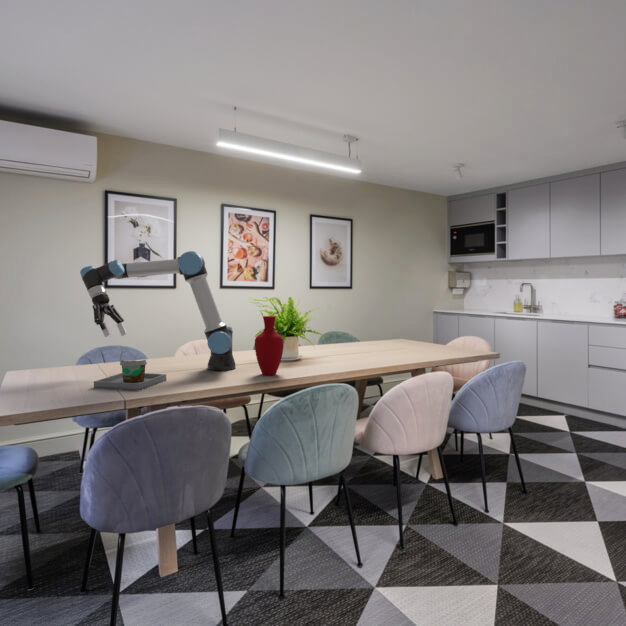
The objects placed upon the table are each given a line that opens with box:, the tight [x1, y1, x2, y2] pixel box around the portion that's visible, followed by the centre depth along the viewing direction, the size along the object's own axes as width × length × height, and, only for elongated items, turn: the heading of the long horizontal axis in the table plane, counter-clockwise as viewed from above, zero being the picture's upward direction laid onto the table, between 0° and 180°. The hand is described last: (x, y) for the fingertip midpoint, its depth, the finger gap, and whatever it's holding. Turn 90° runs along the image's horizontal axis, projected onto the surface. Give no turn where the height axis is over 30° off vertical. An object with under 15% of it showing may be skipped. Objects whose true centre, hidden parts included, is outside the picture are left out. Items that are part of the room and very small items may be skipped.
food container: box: [119, 358, 148, 383], centre depth 201 cm, size 12×6×10 cm, turn 81°
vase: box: [254, 315, 285, 376], centre depth 227 cm, size 15×15×30 cm
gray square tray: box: [93, 372, 167, 391], centre depth 201 cm, size 22×22×3 cm
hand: (116, 335), depth 215 cm, fingers open, 13 cm apart
